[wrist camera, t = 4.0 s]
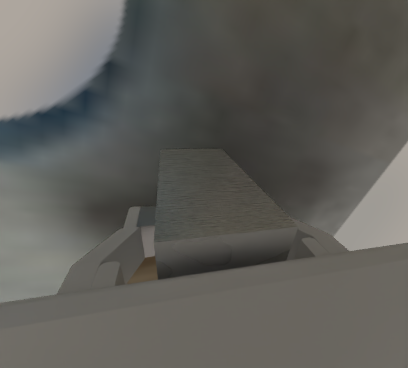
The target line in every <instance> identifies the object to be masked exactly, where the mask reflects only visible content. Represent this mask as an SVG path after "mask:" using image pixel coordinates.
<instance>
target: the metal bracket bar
mask: <svg viewBox="0 0 408 368" xmlns="http://www.w3.org/2000/svg"><path fill="white" fill-rule="evenodd" d="M297 229H298V226H297V225H296V224H295V223H294V222H293V221H292V220H291V219H290V218H289V217H288V216H287V215H286V214H285V213H284V212H283V211H282V210H281V209H280V208H279V207H278V206H277V205H276V203H275V202H274V201H273V200H272V199H271V198H270V197H269V196H268V195H267V194H266V193H265V192H264V191H263V190H262V189H261V188H260V187H259V186H258V185H257V184H256V183H255V182H254V181H253V180H252V179H251V178H250V177H249V176H248V175H247V174H246V173H245V172H244V171H243V170H242V169H241V168H240V167H239V166H238V165H237V164H236V163H235V162H234V161H233V160H232V159H231V158H230V157H229V156H228V155H227V154H226V153H225V152H224V151H223V150H222V148H209V149H160V162H159V176H158V190H157V203H156V217H155V231H154V250H155V258H156V267H157V275H158V280H159V279H166V278H172V277H179V276H186V275H193V274H199V273H206V272H213V271H220V270H226V269H233V268H240V267H247V266H253V265H260V264H267V263H274V262H281V261H286V260H287V257H288V254H289V251H290V249H291V246H292V243H293V240H294V238H295V235H296V232H297Z"/></svg>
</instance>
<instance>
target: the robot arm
mask: <svg viewBox="0 0 408 368" xmlns="http://www.w3.org/2000/svg"><path fill="white" fill-rule="evenodd" d="M155 217H156V206H138V207H130V208H129V211H128V214H127V217H126V220H125V224H124V227H123V228H121V229H119V230H117V231H116V232H115V233H114V234H112V235H111V236H110V237H108V238H107V239H106V240H105V241H103V242H102V243H101V244H99V245H98V246H97V247H95V248H94V249H93V250H92V251H90V252H89V253H88V254H86V255H85V256H84V257H83V258H81V259H80V260H79V261H77V262H76V263H75V264H73V265H72V267H71V268H70V270H69V272H68V274H67V276H66V278H65V280H64V282H63V283H62V285H61V287H60V289H59V291H58V293H57V295H50V296H43V297H37V298H30V299H23V300H16V301H9V302H3V303H0V368H408V243H403V244H396V245H389V246H383V247H376V248H369V249H362V250H356V251H348V250H347V249H346V248H345V247H344V246H343V245H342V244H340V243H339V242H338V241H337V240H336V239H335V238H334V237H332V236H331V235H330V234H328V233H326V232H323V231H321V230H319V229H317V228H314V227H312V226H310V225H307V224H305V223H303V222H300V221H298V220H296V219H293V218H291V217H289V216H288V217H289V218H290V219H291V220H292V221H293V222H294V223H295V224H296V225H297V226H298V229H297V232H296V235H295V238H294V240H293V243H292V246H291V249H290V251H289V254H288V257H287V260H286V261H281V262H274V263H267V264H260V265H253V266H247V267H240V268H233V269H226V270H220V271H213V272H206V273H199V274H193V275H186V276H179V277H172V278H166V279H159V280H152V281H145V282H138V283H132V284H127V282H128V281H129V280H130V278H131V277H132V275H133V274H134V273H135V271H136V270H137V269H138V267H139V266H140V264H141V263H142V262H143V260H144V259H145V257H152V256H155V250H154V231H155Z"/></svg>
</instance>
